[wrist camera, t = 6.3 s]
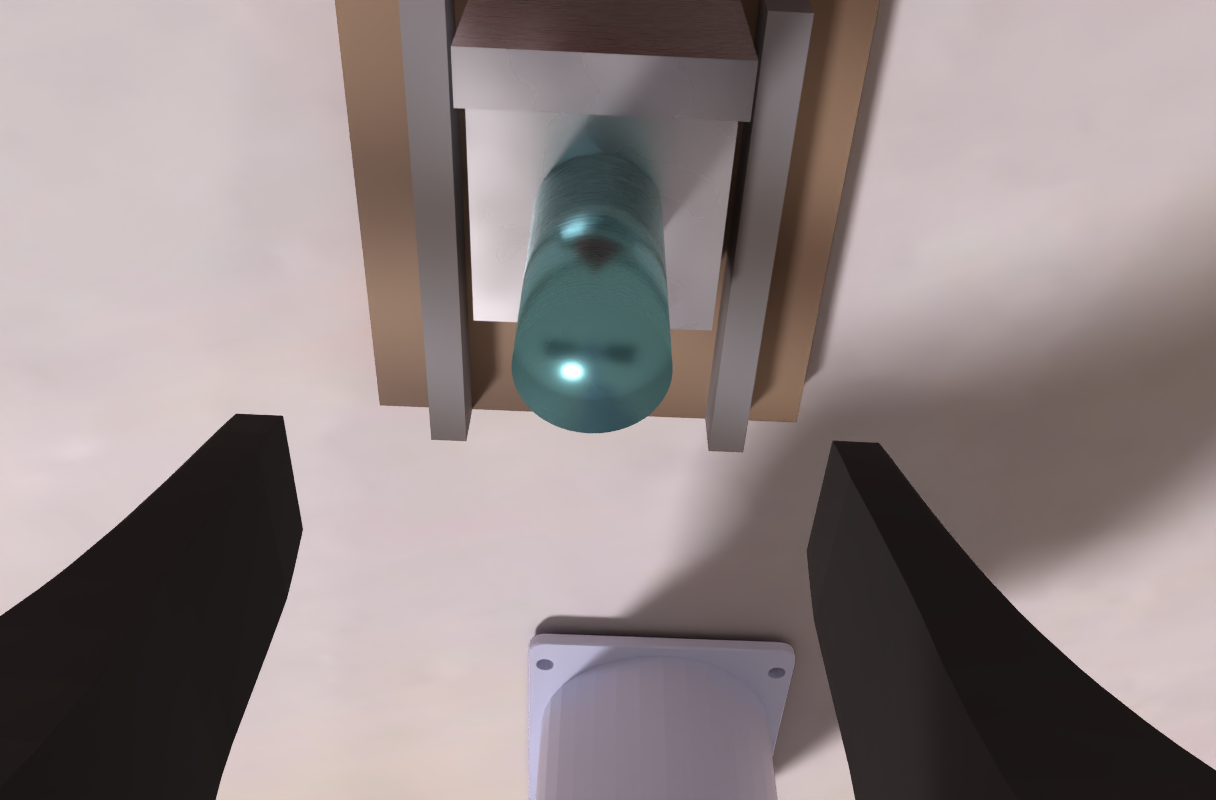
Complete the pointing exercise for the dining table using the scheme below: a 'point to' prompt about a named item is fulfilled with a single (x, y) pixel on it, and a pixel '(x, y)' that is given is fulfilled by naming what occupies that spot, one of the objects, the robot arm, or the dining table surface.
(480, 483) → the dining table surface
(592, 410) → the ram
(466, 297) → the frame
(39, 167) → the dining table surface
